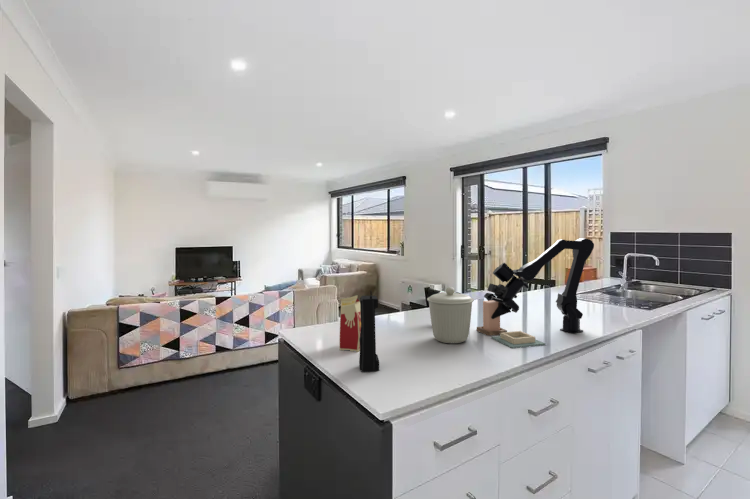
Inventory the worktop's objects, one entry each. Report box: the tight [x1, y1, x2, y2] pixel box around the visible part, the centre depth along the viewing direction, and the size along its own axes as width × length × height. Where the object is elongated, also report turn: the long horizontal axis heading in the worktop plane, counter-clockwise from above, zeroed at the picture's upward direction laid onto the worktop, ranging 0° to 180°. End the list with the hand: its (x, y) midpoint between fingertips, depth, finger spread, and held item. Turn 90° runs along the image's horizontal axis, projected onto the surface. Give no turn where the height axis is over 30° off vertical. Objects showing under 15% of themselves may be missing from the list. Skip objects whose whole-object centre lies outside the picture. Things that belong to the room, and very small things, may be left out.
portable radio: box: [358, 291, 380, 373], centre depth 115 cm, size 8×6×25 cm
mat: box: [490, 330, 546, 349], centre depth 140 cm, size 14×14×3 cm
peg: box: [482, 300, 501, 331], centre depth 153 cm, size 5×5×13 cm
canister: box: [426, 286, 475, 344], centre depth 143 cm, size 18×18×21 cm
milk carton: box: [339, 294, 361, 353], centre depth 136 cm, size 9×9×20 cm
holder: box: [476, 325, 508, 337], centre depth 154 cm, size 9×9×2 cm
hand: (488, 316), depth 153 cm, fingers closed on peg, 5 cm apart
